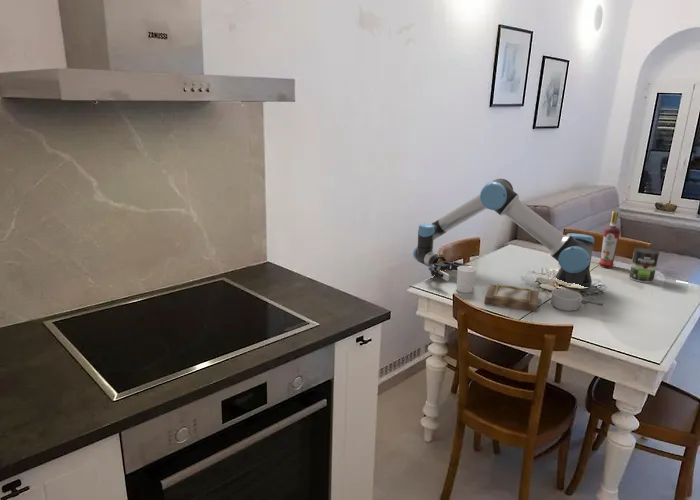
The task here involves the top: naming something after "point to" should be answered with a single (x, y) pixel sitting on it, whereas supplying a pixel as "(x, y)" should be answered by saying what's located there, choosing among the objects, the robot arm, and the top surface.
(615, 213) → the liquor
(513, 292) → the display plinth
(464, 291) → the white cup
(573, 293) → the saucepan
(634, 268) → the coffee can
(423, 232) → the robot arm
